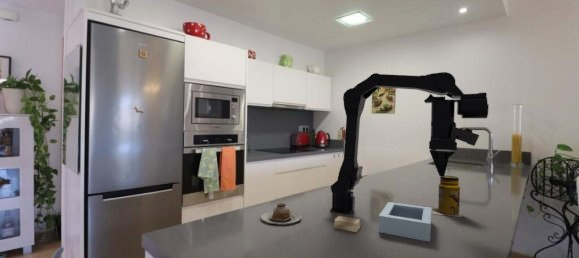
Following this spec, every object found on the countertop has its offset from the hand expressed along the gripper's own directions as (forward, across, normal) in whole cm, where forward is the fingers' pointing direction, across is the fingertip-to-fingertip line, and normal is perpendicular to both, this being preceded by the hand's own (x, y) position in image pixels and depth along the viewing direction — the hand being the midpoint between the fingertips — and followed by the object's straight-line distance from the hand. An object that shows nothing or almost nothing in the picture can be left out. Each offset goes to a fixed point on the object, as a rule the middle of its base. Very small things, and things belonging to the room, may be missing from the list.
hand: (441, 173), depth 77 cm
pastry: (+15, -18, +41) cm, 48 cm away
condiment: (+15, +16, -2) cm, 22 cm away
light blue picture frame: (+15, -6, +8) cm, 18 cm away
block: (+15, -15, +22) cm, 31 cm away
